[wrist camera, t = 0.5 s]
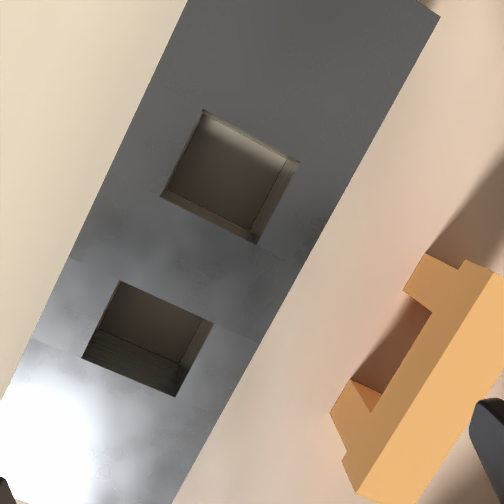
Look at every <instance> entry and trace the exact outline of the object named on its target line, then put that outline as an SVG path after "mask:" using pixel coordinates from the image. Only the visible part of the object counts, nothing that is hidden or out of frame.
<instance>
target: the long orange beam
mask: <svg viewBox="0 0 504 504" xmlns="http://www.w3.org/2000/svg"><path fill="white" fill-rule="evenodd" d="M403 291H404V292H406V293H407V294H408V295H410V296H411V297H412V298H414V299H415V300H416V301H418V302H419V303H420V304H422V305H423V306H424V307H426V308H427V309H428V310H430V311H431V312H432V314H431V315H430V317H429V319H428V320H427V322H426V324H425V325H424V327H423V328H422V330H421V332H420V333H419V335H418V337H417V338H416V340H415V342H414V343H413V345H412V346H411V348H410V350H409V351H408V353H407V355H406V356H405V358H404V360H403V361H402V363H401V364H400V366H399V368H398V369H397V371H396V373H395V374H394V376H393V378H392V379H391V381H390V382H389V384H388V386H387V387H386V389H385V391H384V392H383V394H381V393H379V392H376V391H374V390H372V389H370V388H368V387H365V386H363V385H361V384H359V383H357V382H355V381H352V380H349V382H348V383H347V385H346V387H345V388H344V390H343V392H342V394H341V395H340V397H339V399H338V400H337V402H336V404H335V405H334V407H333V409H332V410H331V412H330V415H331V417H332V419H333V422H334V424H335V426H336V428H337V430H338V432H339V435H340V437H341V439H342V441H343V443H344V446H345V448H346V450H347V453H346V454H345V456H344V458H343V459H342V463H343V466H344V468H345V470H346V473H347V475H348V477H349V480H350V482H351V484H352V487H353V489H354V491H355V494H357V495H360V496H362V497H365V498H367V499H370V500H372V501H374V502H377V503H379V504H416V502H417V501H418V499H419V498H420V496H421V495H422V493H423V492H424V490H425V489H426V487H427V486H428V484H429V482H430V481H431V479H432V478H433V476H434V475H435V473H436V472H437V470H438V469H439V467H440V466H441V464H442V463H443V461H444V459H445V458H446V456H447V455H448V453H449V452H450V450H451V449H452V447H453V446H454V444H455V443H456V441H457V440H458V438H459V436H460V435H461V433H462V432H463V430H464V429H465V427H466V426H467V424H468V423H469V421H470V420H471V418H472V415H473V412H474V408H475V405H476V403H477V402H478V401H479V400H483V399H484V398H485V397H486V395H487V393H488V392H489V390H490V389H491V387H492V386H493V384H494V383H495V381H496V380H497V378H498V377H499V375H500V374H501V372H502V370H503V369H504V277H502V276H500V275H499V274H497V273H495V272H493V271H491V270H488V269H486V268H484V267H482V266H479V265H477V264H475V263H473V262H471V261H468V260H466V259H465V260H464V261H463V263H462V265H461V266H460V268H459V270H458V269H456V268H454V267H452V266H450V265H448V264H446V263H444V262H442V261H440V260H438V259H436V258H434V257H432V256H430V255H428V254H426V253H425V254H424V256H423V258H422V259H421V261H420V263H419V264H418V266H417V268H416V269H415V271H414V273H413V274H412V276H411V278H410V279H409V281H408V283H407V284H406V286H405V288H404V289H403Z"/></svg>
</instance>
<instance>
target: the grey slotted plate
mask: <svg viewBox="0 0 504 504" xmlns="http://www.w3.org/2000/svg"><path fill="white" fill-rule="evenodd" d="M439 19H440V16H439V15H437V14H436V13H434V12H433V11H431V10H430V9H428V8H426V7H425V6H423V5H422V4H420V3H419V2H417V1H416V0H188V1H187V3H186V6H185V8H184V10H183V12H182V14H181V16H180V18H179V21H178V23H177V25H176V27H175V29H174V31H173V33H172V36H171V38H170V40H169V42H168V44H167V46H166V48H165V51H164V53H163V55H162V57H161V59H160V61H159V64H158V66H157V68H156V70H155V72H154V74H153V76H152V79H151V81H150V83H149V85H148V87H147V89H146V91H145V94H144V96H143V98H142V100H141V102H140V104H139V106H138V109H137V111H136V113H135V115H134V117H133V119H132V121H131V124H130V126H129V128H128V130H127V132H126V134H125V137H124V139H123V141H122V143H121V145H120V147H119V149H118V152H117V154H116V156H115V158H114V160H113V162H112V164H111V167H110V169H109V171H108V173H107V175H106V177H105V179H104V182H103V184H102V186H101V188H100V190H99V192H98V194H97V197H96V199H95V201H94V203H93V205H92V207H91V210H90V212H89V214H88V216H87V218H86V220H85V222H84V225H83V227H82V229H81V231H80V233H79V235H78V237H77V240H76V242H75V244H74V246H73V248H72V250H71V252H70V255H69V257H68V259H67V261H66V263H65V265H64V267H63V270H62V272H61V274H60V276H59V278H58V280H57V283H56V285H55V287H54V289H53V291H52V293H51V295H50V298H49V300H48V302H47V304H46V306H45V308H44V310H43V313H42V315H41V317H40V319H39V321H38V323H37V325H36V328H35V330H34V332H33V334H32V336H31V338H30V340H29V343H28V345H27V347H26V349H25V351H24V353H23V355H22V358H21V360H20V362H19V364H18V366H17V368H16V371H15V373H14V375H13V377H12V379H11V381H10V383H9V386H8V388H7V390H6V392H5V394H4V396H3V398H2V401H1V403H0V476H2V477H4V478H6V480H7V482H8V484H9V487H10V489H11V491H12V494H13V496H14V498H17V499H20V500H23V501H26V502H29V503H31V504H171V503H172V502H173V500H174V498H175V496H176V494H177V492H178V491H179V489H180V487H181V485H182V483H183V482H184V480H185V478H186V476H187V474H188V473H189V471H190V469H191V467H192V465H193V464H194V462H195V460H196V458H197V456H198V455H199V453H200V451H201V449H202V447H203V446H204V444H205V442H206V440H207V438H208V436H209V435H210V433H211V431H212V429H213V427H214V426H215V424H216V422H217V420H218V418H219V417H220V415H221V413H222V411H223V409H224V408H225V406H226V404H227V402H228V400H229V399H230V397H231V395H232V393H233V391H234V390H235V388H236V386H237V384H238V382H239V380H240V379H241V377H242V375H243V373H244V371H245V370H246V368H247V366H248V364H249V362H250V361H251V359H252V357H253V355H254V353H255V352H256V350H257V348H258V346H259V344H260V343H261V341H262V339H263V337H264V335H265V334H266V332H267V330H268V328H269V326H270V324H271V323H272V321H273V319H274V317H275V315H276V314H277V312H278V310H279V308H280V306H281V305H282V303H283V301H284V299H285V297H286V296H287V294H288V292H289V290H290V288H291V287H292V285H293V283H294V281H295V279H296V278H297V276H298V274H299V272H300V270H301V268H302V267H303V265H304V263H305V261H306V259H307V258H308V256H309V254H310V252H311V250H312V249H313V247H314V245H315V243H316V241H317V240H318V238H319V236H320V234H321V232H322V231H323V229H324V227H325V225H326V223H327V221H328V220H329V218H330V216H331V214H332V212H333V211H334V209H335V207H336V205H337V203H338V202H339V200H340V198H341V196H342V194H343V193H344V191H345V189H346V187H347V185H348V184H349V182H350V180H351V178H352V176H353V175H354V173H355V171H356V169H357V167H358V165H359V164H360V162H361V160H362V158H363V156H364V155H365V153H366V151H367V149H368V147H369V146H370V144H371V142H372V140H373V138H374V137H375V135H376V133H377V131H378V129H379V128H380V126H381V124H382V122H383V120H384V119H385V117H386V115H387V113H388V111H389V109H390V108H391V106H392V104H393V102H394V100H395V99H396V97H397V95H398V93H399V91H400V90H401V88H402V86H403V84H404V82H405V81H406V79H407V77H408V75H409V73H410V72H411V70H412V68H413V66H414V64H415V63H416V61H417V59H418V57H419V55H420V53H421V52H422V50H423V48H424V46H425V44H426V43H427V41H428V39H429V37H430V35H431V34H432V32H433V30H434V28H435V26H436V25H437V23H438V21H439ZM203 114H205V115H207V116H209V117H211V118H212V119H214V120H216V121H218V122H220V123H222V124H223V125H225V126H227V127H229V128H231V129H233V130H234V131H236V132H238V133H240V134H242V135H244V136H245V137H247V138H249V139H251V140H253V141H255V142H256V143H258V144H260V145H262V146H264V147H266V148H268V149H269V150H271V151H273V152H275V153H277V154H279V155H280V156H282V157H284V158H286V159H287V161H286V162H285V164H284V166H283V168H282V170H281V172H280V174H279V176H278V178H277V180H276V181H275V183H274V185H273V187H272V189H271V191H270V193H269V195H268V197H267V198H266V200H265V202H264V204H263V206H262V208H261V210H260V212H259V214H258V216H257V217H256V219H255V221H254V223H253V225H252V227H251V229H250V231H248V230H246V229H244V228H242V227H240V226H238V225H236V224H234V223H232V222H230V221H229V220H227V219H225V218H223V217H221V216H219V215H217V214H215V213H213V212H211V211H209V210H207V209H205V208H203V207H201V206H199V205H197V204H195V203H193V202H191V201H189V200H187V199H185V198H183V197H181V196H179V195H177V194H175V193H173V192H171V191H169V190H167V187H168V185H169V182H170V180H171V178H172V176H173V174H174V172H175V170H176V168H177V166H178V164H179V162H180V160H181V158H182V156H183V154H184V152H185V150H186V148H187V146H188V144H189V142H190V140H191V138H192V135H193V133H194V131H195V129H196V127H197V125H198V123H199V121H200V119H201V117H202V115H203ZM121 281H123V282H125V283H127V284H129V285H131V286H133V287H136V288H138V289H140V290H142V291H144V292H147V293H149V294H151V295H153V296H155V297H158V298H160V299H162V300H164V301H166V302H169V303H171V304H173V305H175V306H177V307H179V308H182V309H184V310H186V311H188V312H190V313H193V314H195V315H197V316H199V317H201V318H203V320H202V322H201V324H200V326H199V327H198V329H197V331H196V333H195V335H194V337H193V339H192V341H191V343H190V345H189V346H188V348H187V350H186V352H185V354H184V356H183V358H182V360H181V362H180V364H178V363H175V362H173V361H171V360H168V359H166V358H164V357H161V356H159V355H157V354H154V353H152V352H150V351H148V350H145V349H143V348H141V347H138V346H136V345H134V344H131V343H129V342H127V341H124V340H122V339H120V338H117V337H115V336H113V335H111V334H108V333H106V332H104V331H101V330H99V329H98V328H99V325H100V323H101V321H102V319H103V317H104V315H105V313H106V311H107V309H108V307H109V305H110V303H111V301H112V299H113V297H114V295H115V293H116V291H117V289H118V287H119V285H120V283H121Z"/></svg>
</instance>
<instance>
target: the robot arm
mask: <svg viewBox="0 0 504 504" xmlns="http://www.w3.org/2000/svg"><path fill="white" fill-rule="evenodd" d="M469 436H470V439H471V441H472V444H473V446H474V448H475V450H476V452H477V454H478V456H479V459H480V461H481V463H482V465H483V467H484V469H485V471H486V474H487V476H488V478H489V480H490V482H491V484H492V486H493V489H494V491H495V493H496V495H497V497H498V499H499V501H500V503H501V504H504V401H503V400H502V399H499V398H489V399H483V400H479V401H478V402H477V403H476V405H475V408H474V412H473V415H472V419H471V422H470V425H469ZM0 504H16V501H15V499H14V496H13V494H12V491H11V489H10V487H9V484H8V482H7V480H6V478H4V477H2V476H0Z"/></svg>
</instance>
